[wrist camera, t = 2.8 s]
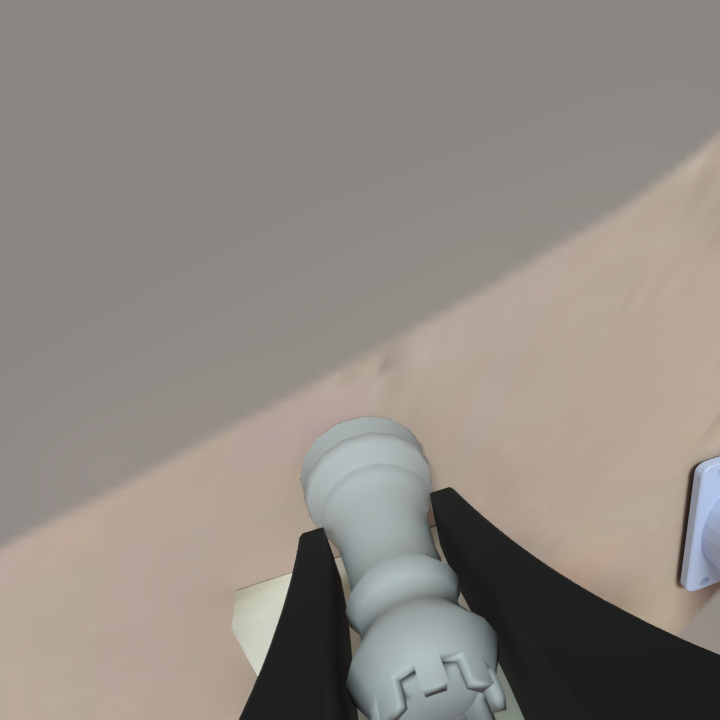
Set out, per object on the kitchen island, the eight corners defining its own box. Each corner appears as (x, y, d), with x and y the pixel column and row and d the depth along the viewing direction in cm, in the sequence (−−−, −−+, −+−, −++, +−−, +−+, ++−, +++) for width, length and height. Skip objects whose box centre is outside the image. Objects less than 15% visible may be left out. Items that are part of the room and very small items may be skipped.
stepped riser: (475, 513, 17) (514, 574, 14) (497, 660, 20) (531, 731, 18) (235, 591, 16) (226, 673, 13) (305, 729, 20) (309, 815, 17)
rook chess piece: (417, 505, 16) (535, 766, 9) (302, 520, 15) (323, 820, 8) (424, 404, 14) (576, 617, 7) (296, 415, 14) (314, 667, 6)
